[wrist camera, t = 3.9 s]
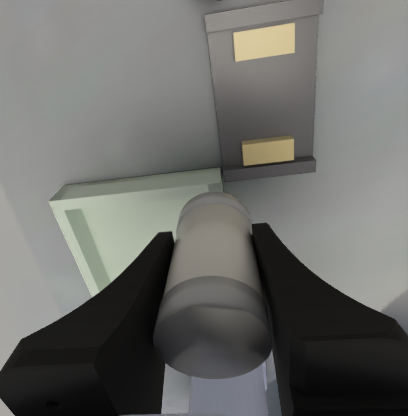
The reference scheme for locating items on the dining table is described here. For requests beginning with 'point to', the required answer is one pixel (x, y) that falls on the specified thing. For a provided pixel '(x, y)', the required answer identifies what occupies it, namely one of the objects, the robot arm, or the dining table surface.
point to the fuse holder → (265, 87)
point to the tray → (123, 217)
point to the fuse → (213, 293)
